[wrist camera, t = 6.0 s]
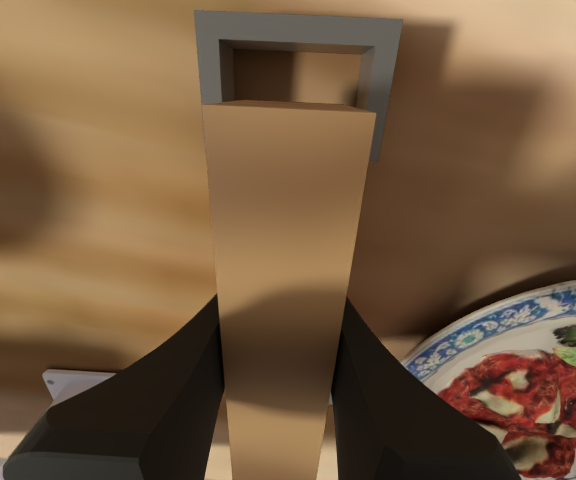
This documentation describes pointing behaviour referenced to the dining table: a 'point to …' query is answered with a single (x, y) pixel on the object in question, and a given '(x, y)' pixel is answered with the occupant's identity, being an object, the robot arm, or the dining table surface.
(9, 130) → the dining table surface
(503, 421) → the ceramic plate
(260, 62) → the dining table surface
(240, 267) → the slat
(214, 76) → the end cap
